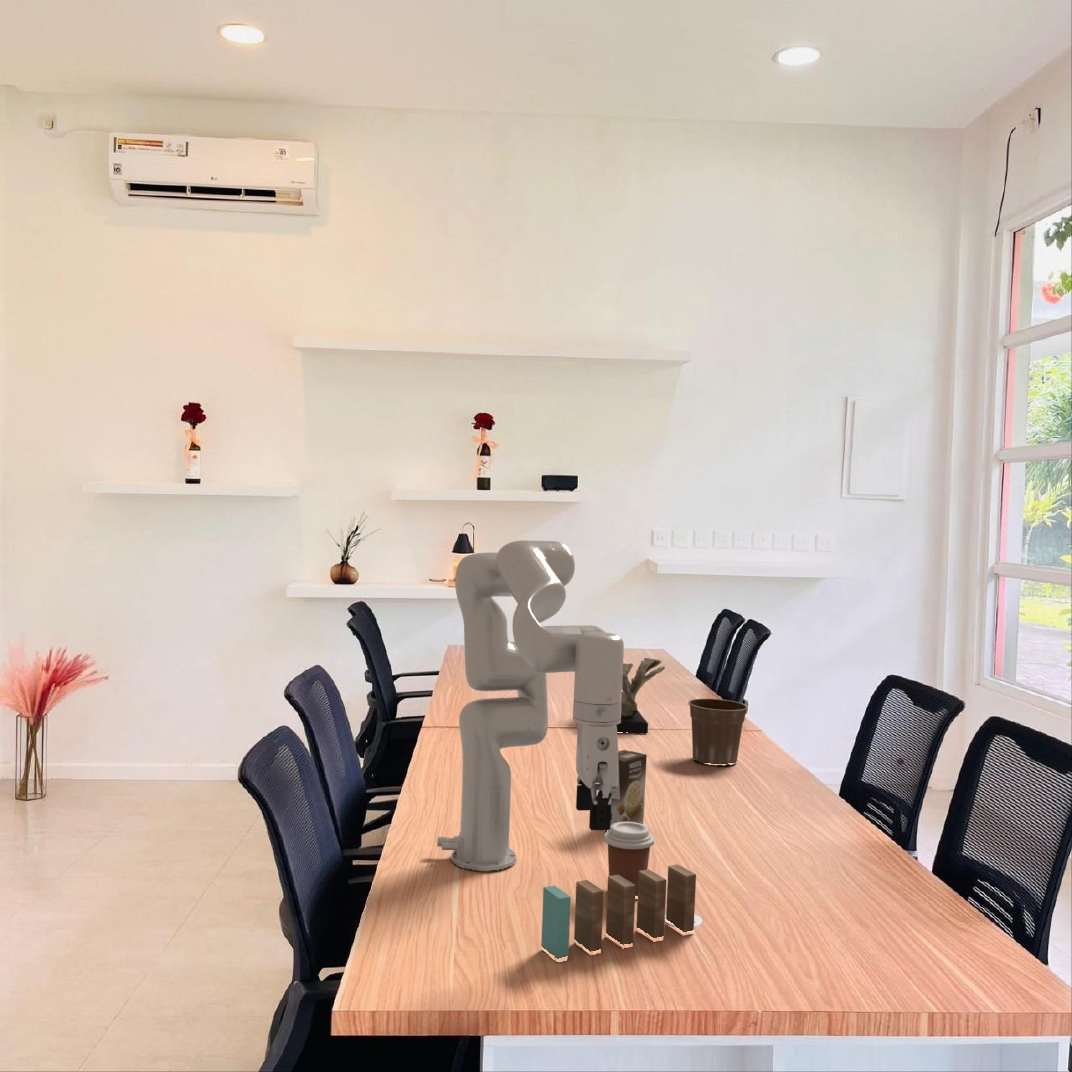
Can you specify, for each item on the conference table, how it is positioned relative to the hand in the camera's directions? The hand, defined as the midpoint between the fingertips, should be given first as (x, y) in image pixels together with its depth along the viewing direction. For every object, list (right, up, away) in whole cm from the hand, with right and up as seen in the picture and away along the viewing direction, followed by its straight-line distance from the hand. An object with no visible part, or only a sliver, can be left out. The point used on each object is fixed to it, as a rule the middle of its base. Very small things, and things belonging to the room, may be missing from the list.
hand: (592, 819), depth 161 cm
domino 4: (+15, -21, +9) cm, 27 cm away
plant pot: (+41, -18, +123) cm, 131 cm away
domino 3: (+10, -21, +6) cm, 24 cm away
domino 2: (+4, -21, +4) cm, 21 cm away
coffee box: (+9, -19, +61) cm, 65 cm away
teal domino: (-6, -21, -2) cm, 21 cm away
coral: (+21, -16, +165) cm, 167 cm away
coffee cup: (+8, -20, +25) cm, 33 cm away
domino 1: (-1, -21, +1) cm, 21 cm away
